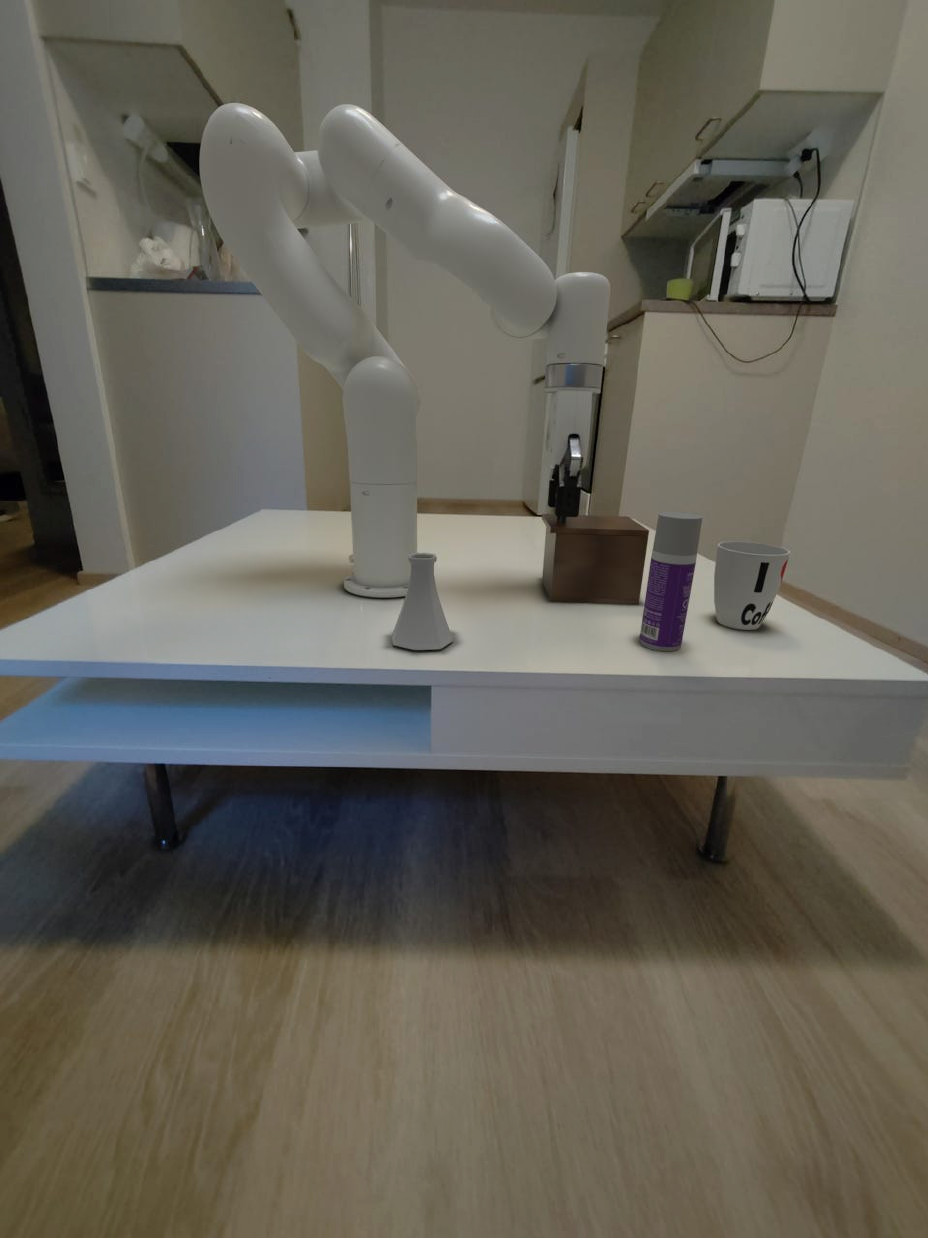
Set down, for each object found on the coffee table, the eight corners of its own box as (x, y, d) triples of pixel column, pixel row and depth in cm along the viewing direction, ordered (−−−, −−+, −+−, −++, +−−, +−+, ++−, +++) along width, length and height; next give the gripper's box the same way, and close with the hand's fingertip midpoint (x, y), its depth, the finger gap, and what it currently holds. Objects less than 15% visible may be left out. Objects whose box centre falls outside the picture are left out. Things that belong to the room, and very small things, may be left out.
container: (684, 653, 61) (708, 519, 56) (641, 649, 62) (660, 517, 57) (677, 638, 66) (699, 513, 61) (637, 634, 67) (655, 510, 61)
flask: (382, 649, 60) (380, 561, 57) (400, 626, 67) (399, 546, 64) (447, 655, 59) (448, 565, 56) (458, 631, 66) (460, 550, 63)
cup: (744, 638, 66) (761, 557, 63) (690, 617, 73) (703, 543, 70) (786, 628, 70) (804, 551, 67) (731, 609, 77) (745, 539, 73)
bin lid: (550, 532, 75) (553, 496, 73) (541, 518, 86) (544, 487, 84) (648, 536, 75) (653, 499, 73) (627, 521, 85) (631, 489, 84)
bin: (550, 601, 78) (556, 533, 75) (542, 579, 89) (546, 519, 86) (638, 604, 78) (648, 536, 75) (619, 582, 89) (627, 521, 85)
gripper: (538, 384, 82) (531, 502, 88) (552, 375, 66) (542, 521, 71) (589, 386, 82) (578, 503, 88) (615, 377, 65) (599, 522, 71)
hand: (562, 511), depth 79 cm, fingers open, 8 cm apart
